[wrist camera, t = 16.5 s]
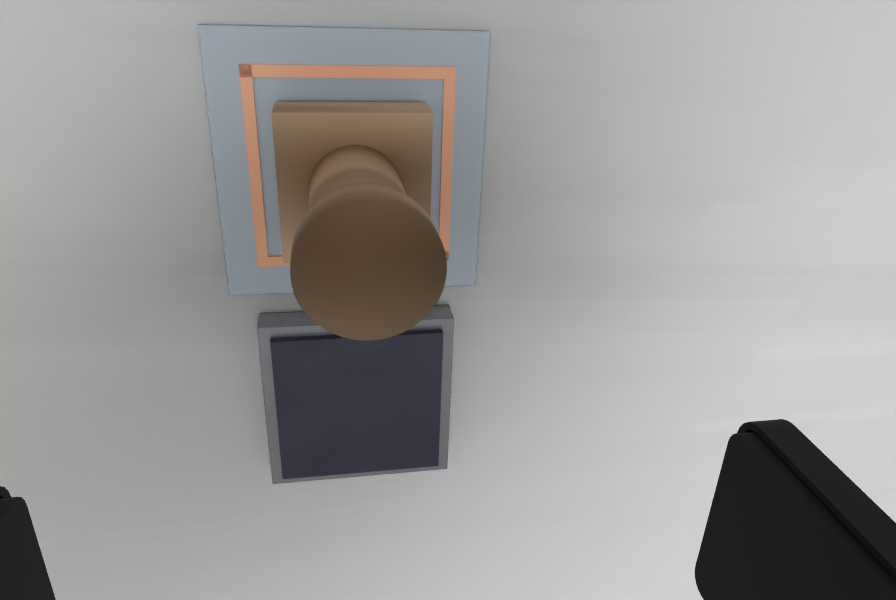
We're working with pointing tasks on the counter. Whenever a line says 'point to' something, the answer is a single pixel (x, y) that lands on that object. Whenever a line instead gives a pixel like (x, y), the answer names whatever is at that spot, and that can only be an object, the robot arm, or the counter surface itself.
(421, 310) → the stamp
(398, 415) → the ink pad
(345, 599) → the counter surface
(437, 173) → the card
